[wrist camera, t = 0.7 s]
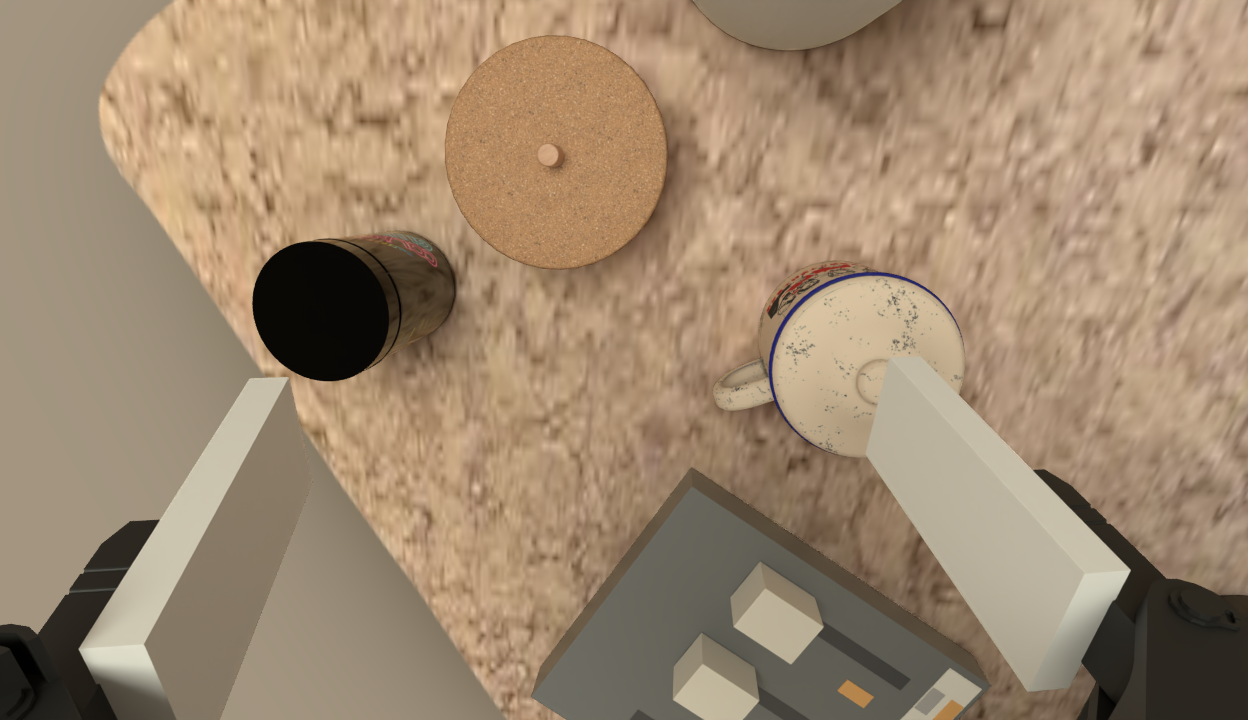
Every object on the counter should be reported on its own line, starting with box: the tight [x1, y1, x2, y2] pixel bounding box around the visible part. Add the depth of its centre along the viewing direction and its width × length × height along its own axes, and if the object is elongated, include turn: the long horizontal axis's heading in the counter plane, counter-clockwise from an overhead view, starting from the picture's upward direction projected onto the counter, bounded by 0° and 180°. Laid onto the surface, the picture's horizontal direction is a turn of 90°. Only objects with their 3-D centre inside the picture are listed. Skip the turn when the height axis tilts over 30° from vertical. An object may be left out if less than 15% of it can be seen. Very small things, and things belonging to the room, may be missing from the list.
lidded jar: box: [445, 35, 668, 270], centre depth 37 cm, size 11×11×9 cm
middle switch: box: [673, 633, 759, 720], centre depth 43 cm, size 4×3×3 cm
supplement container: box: [252, 231, 454, 381], centre depth 39 cm, size 7×7×10 cm
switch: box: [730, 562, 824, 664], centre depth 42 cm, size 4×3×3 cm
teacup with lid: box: [713, 261, 965, 458], centre depth 37 cm, size 12×9×12 cm
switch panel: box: [531, 467, 991, 720], centre depth 46 cm, size 22×18×3 cm
